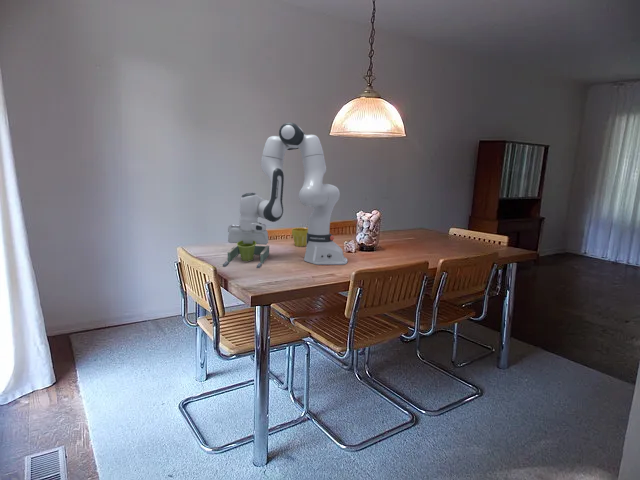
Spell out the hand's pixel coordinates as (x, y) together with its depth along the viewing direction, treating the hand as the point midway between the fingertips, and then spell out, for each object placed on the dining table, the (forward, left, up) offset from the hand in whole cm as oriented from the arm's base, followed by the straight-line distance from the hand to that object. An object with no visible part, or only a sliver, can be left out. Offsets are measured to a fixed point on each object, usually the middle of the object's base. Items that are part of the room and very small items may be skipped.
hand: (248, 252), depth 222 cm
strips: (0, +15, -3) cm, 16 cm away
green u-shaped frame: (0, -1, -3) cm, 3 cm away
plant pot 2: (-23, -39, -4) cm, 45 cm away
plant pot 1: (0, +4, -3) cm, 5 cm away
